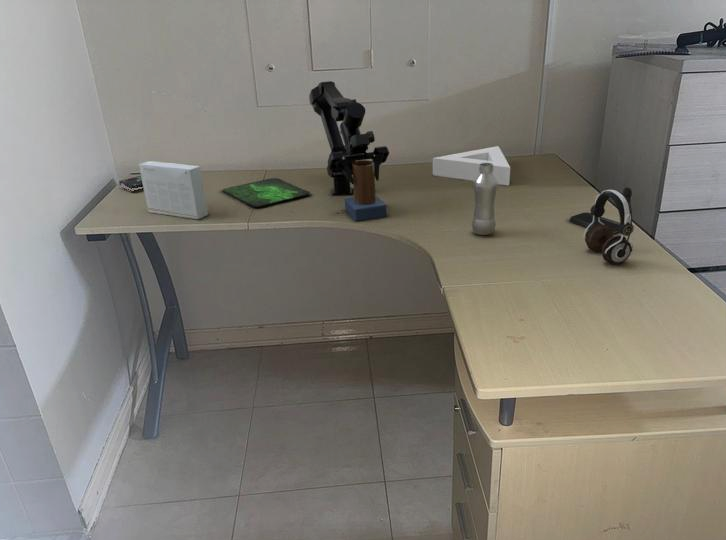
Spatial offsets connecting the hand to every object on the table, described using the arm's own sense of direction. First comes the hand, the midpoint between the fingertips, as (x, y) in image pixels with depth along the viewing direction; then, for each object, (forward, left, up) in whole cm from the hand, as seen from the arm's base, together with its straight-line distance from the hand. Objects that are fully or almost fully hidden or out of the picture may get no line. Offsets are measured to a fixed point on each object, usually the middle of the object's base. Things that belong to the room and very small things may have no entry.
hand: (365, 181), depth 196 cm
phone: (+17, +68, -11) cm, 70 cm away
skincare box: (-8, -61, -11) cm, 63 cm away
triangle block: (-40, +38, -11) cm, 56 cm away
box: (-1, 0, -11) cm, 11 cm away
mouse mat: (-26, -35, -11) cm, 45 cm away
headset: (+40, +63, -11) cm, 75 cm away
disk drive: (-41, -82, -11) cm, 92 cm away
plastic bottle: (+20, +34, -11) cm, 40 cm away
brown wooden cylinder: (-1, 0, -7) cm, 7 cm away
